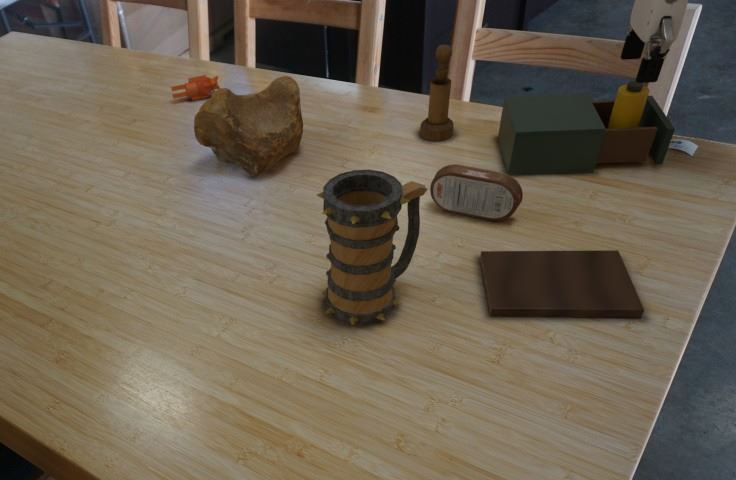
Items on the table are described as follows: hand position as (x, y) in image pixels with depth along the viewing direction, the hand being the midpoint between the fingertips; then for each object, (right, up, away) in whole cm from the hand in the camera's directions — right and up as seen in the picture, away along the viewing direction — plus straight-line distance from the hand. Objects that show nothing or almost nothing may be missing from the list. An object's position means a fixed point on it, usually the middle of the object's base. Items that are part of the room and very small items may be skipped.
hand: (637, 69), depth 115 cm
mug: (-48, -40, -11) cm, 64 cm away
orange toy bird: (-78, +15, +53) cm, 95 cm away
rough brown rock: (-64, -9, +25) cm, 69 cm away
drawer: (+2, -11, +10) cm, 14 cm away
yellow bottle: (+2, -10, +9) cm, 13 cm away
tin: (-28, -25, +2) cm, 37 cm away
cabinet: (-10, -11, +13) cm, 20 cm away
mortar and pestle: (-27, -4, +24) cm, 36 cm away
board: (-21, -38, -14) cm, 46 cm away
